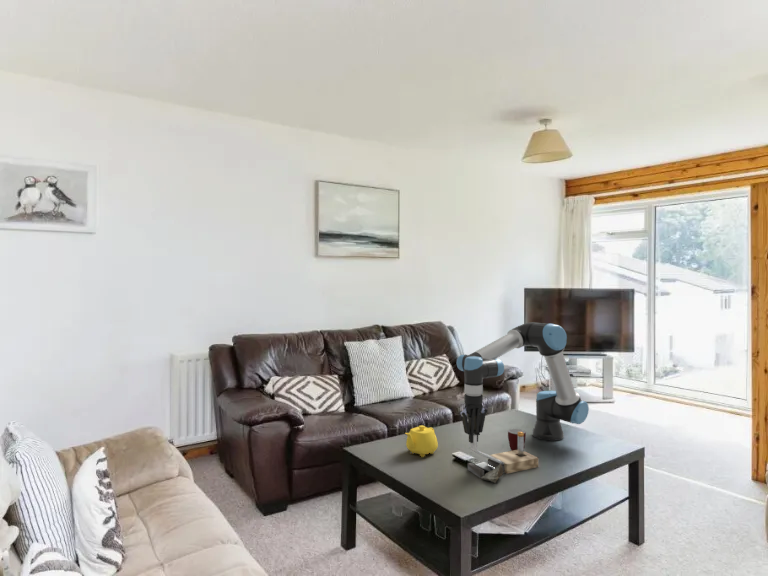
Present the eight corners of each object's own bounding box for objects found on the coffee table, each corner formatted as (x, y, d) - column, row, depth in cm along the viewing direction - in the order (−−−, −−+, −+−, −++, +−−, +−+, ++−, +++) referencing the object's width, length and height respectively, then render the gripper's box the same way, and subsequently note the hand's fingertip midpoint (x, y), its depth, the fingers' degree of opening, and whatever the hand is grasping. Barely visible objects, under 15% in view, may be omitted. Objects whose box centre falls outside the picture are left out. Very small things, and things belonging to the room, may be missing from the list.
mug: (532, 456, 230) (532, 434, 230) (517, 458, 227) (517, 436, 227) (518, 448, 240) (518, 428, 239) (504, 450, 237) (504, 429, 237)
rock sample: (479, 464, 210) (493, 455, 205) (493, 475, 211) (507, 466, 206) (475, 483, 202) (489, 474, 197) (490, 495, 202) (504, 486, 197)
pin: (521, 462, 222) (521, 431, 222) (524, 464, 220) (525, 432, 220) (516, 463, 221) (516, 432, 221) (520, 465, 219) (520, 433, 218)
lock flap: (490, 455, 220) (469, 446, 215) (504, 462, 211) (483, 453, 206) (489, 457, 219) (468, 448, 215) (503, 465, 210) (481, 456, 205)
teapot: (445, 452, 236) (444, 425, 236) (416, 463, 222) (416, 434, 222) (423, 444, 246) (423, 419, 246) (394, 455, 232) (394, 428, 232)
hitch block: (519, 457, 228) (519, 449, 228) (538, 466, 217) (538, 457, 217) (465, 468, 215) (465, 459, 215) (482, 478, 205) (482, 469, 204)
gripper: (481, 390, 215) (481, 444, 216) (455, 393, 210) (455, 449, 210) (491, 394, 208) (491, 450, 209) (465, 397, 203) (465, 455, 204)
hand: (473, 449), depth 210 cm, fingers closed
